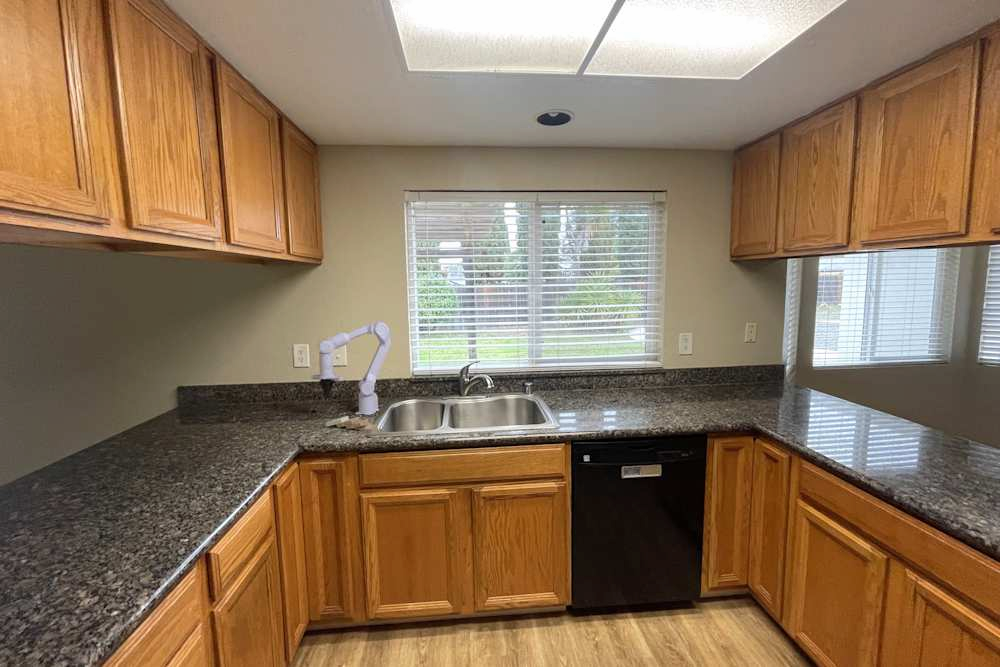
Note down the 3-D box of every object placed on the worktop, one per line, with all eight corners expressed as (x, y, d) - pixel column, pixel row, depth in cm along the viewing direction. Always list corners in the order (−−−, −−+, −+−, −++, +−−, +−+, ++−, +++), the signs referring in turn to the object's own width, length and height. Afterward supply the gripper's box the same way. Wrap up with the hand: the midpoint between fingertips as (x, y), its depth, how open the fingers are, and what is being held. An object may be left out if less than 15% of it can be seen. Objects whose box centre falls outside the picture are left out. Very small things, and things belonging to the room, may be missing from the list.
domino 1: (325, 423, 178) (340, 419, 175) (332, 419, 182) (347, 415, 180) (326, 426, 178) (341, 422, 175) (334, 423, 182) (349, 419, 180)
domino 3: (345, 425, 175) (359, 422, 172) (354, 421, 179) (368, 419, 176) (346, 429, 175) (360, 426, 172) (355, 425, 179) (369, 422, 176)
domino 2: (336, 424, 177) (350, 420, 174) (344, 420, 181) (358, 416, 178) (337, 427, 177) (351, 423, 174) (345, 424, 181) (359, 420, 178)
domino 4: (354, 427, 175) (371, 429, 173) (361, 423, 179) (377, 425, 177) (354, 431, 175) (371, 432, 173) (361, 427, 180) (377, 428, 178)
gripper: (306, 367, 187) (307, 396, 189) (335, 368, 185) (336, 398, 186) (316, 364, 194) (317, 393, 196) (344, 365, 191) (345, 394, 193)
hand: (327, 395), depth 191 cm, fingers closed
